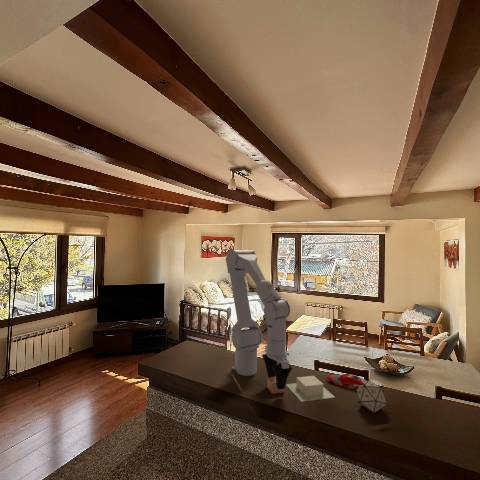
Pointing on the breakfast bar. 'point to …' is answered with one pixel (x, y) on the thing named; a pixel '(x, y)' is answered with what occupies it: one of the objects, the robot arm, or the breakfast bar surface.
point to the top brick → (273, 385)
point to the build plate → (303, 398)
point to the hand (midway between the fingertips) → (276, 383)
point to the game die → (371, 396)
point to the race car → (346, 380)
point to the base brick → (309, 385)
